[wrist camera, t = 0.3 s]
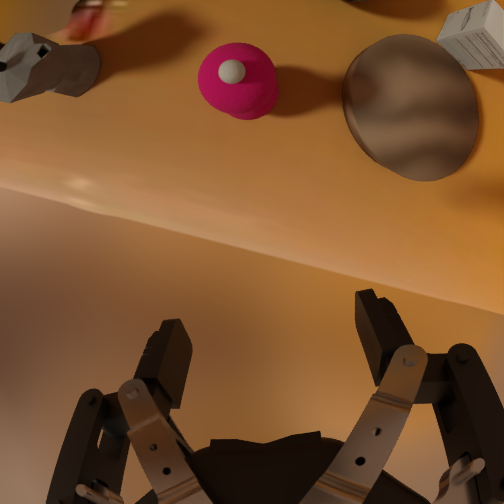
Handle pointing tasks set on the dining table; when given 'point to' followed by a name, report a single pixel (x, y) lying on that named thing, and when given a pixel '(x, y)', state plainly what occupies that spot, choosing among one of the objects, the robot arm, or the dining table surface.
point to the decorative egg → (355, 0)
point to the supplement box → (475, 36)
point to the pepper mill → (239, 81)
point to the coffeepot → (45, 67)
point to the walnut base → (411, 107)
